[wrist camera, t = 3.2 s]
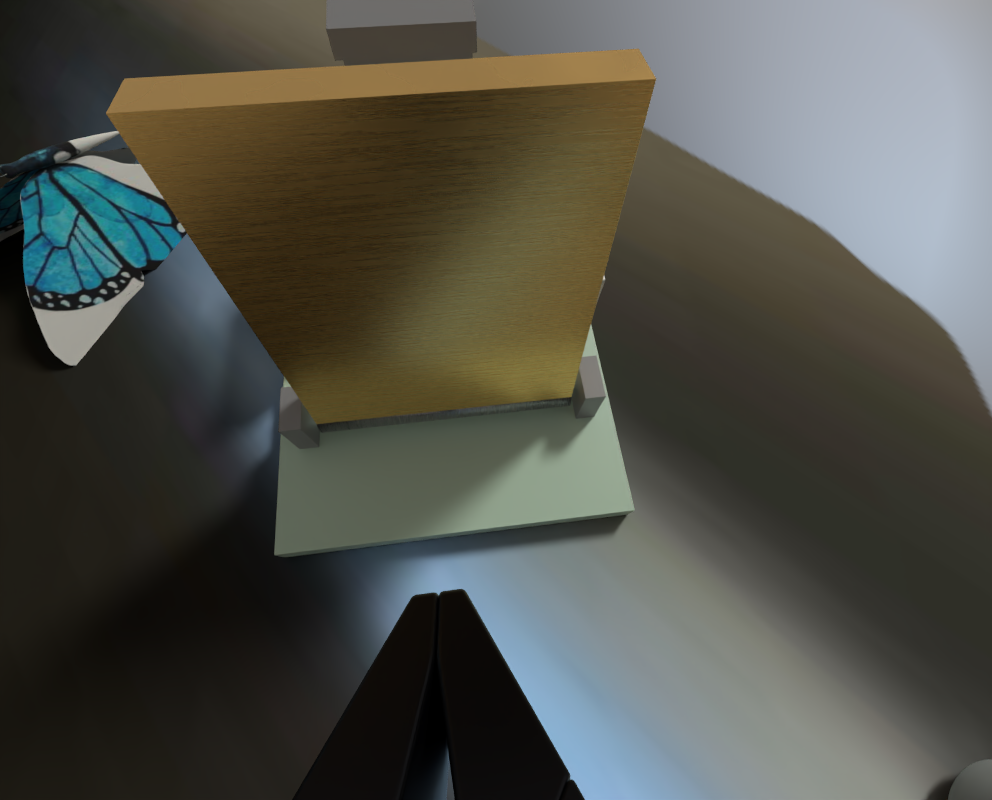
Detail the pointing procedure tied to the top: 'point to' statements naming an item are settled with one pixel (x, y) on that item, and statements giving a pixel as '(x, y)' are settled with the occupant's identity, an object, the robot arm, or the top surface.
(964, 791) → the reed diffuser
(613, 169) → the gold rectangular plate
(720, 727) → the top surface
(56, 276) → the decorative butterfly
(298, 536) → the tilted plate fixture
